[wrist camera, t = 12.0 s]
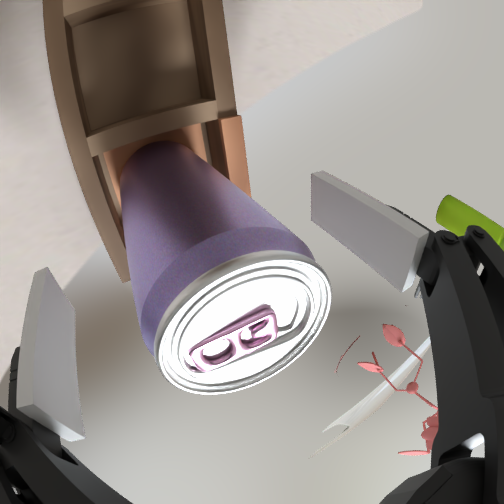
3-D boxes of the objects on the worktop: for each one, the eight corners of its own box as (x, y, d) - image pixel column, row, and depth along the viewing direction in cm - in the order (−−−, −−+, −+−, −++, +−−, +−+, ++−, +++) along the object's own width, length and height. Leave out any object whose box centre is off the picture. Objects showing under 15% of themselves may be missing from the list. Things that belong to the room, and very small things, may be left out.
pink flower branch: (412, 295, 55) (515, 398, 28) (358, 372, 66) (434, 465, 39) (374, 302, 47) (499, 437, 21) (316, 388, 58) (399, 501, 32)
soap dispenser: (455, 187, 41) (538, 241, 27) (446, 219, 45) (523, 274, 31) (442, 191, 39) (534, 251, 25) (432, 226, 43) (516, 287, 29)
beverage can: (108, 158, 16) (104, 317, 5) (189, 127, 18) (342, 213, 7) (136, 229, 20) (193, 416, 9) (208, 200, 22) (332, 345, 10)
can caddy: (119, 253, 21) (123, 287, 18) (56, -62, 4) (48, -88, 1) (232, 213, 24) (256, 238, 21) (190, -89, 7) (209, -116, 4)
